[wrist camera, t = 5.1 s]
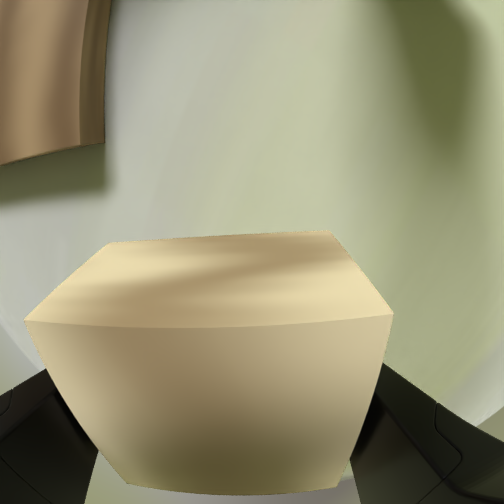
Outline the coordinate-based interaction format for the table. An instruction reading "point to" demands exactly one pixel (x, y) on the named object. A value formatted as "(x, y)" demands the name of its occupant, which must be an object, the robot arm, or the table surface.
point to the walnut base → (51, 76)
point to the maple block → (218, 359)
